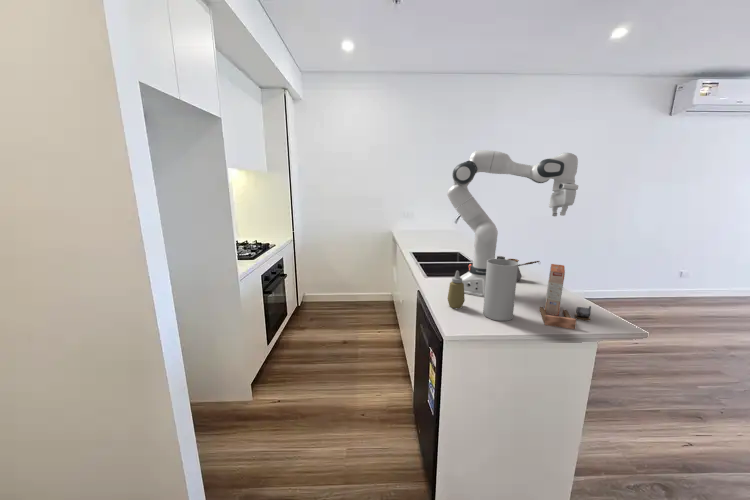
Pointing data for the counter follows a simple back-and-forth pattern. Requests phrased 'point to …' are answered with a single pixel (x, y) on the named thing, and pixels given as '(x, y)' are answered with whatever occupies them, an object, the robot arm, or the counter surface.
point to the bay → (558, 319)
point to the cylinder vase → (500, 289)
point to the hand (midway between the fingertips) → (558, 215)
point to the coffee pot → (521, 265)
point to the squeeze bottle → (456, 292)
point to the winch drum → (583, 313)
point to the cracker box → (554, 289)
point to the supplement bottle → (500, 257)
